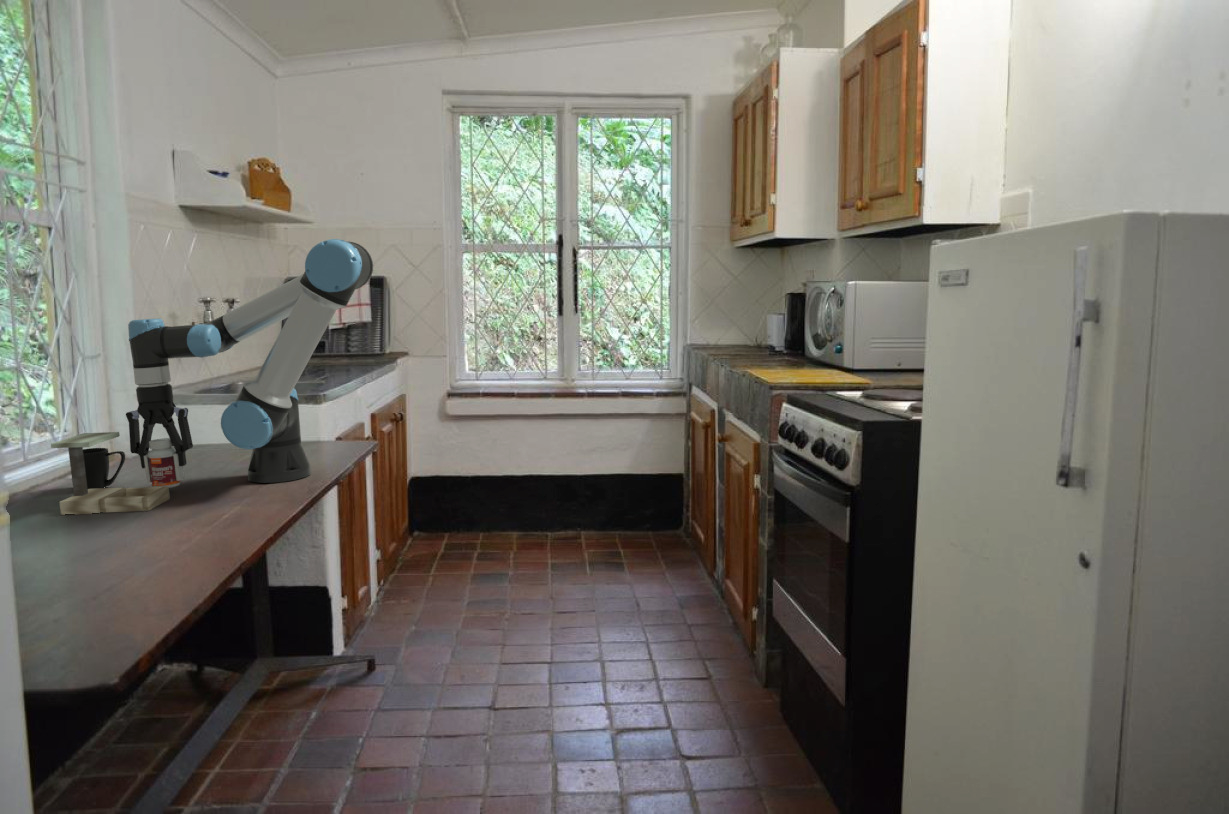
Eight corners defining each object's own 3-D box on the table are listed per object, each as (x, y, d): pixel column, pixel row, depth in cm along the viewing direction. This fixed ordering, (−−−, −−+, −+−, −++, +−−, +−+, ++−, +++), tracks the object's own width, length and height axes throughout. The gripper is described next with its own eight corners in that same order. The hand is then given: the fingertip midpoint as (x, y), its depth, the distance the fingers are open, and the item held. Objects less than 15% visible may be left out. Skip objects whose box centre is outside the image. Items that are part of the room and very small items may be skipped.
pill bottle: (151, 490, 208) (144, 443, 206) (153, 485, 213) (147, 439, 212) (180, 487, 210) (174, 440, 208) (181, 482, 216) (175, 436, 214)
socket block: (172, 497, 207) (165, 430, 204) (145, 512, 194) (137, 440, 191) (91, 500, 206) (83, 433, 203) (59, 515, 193) (50, 443, 191)
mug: (121, 490, 216) (116, 452, 215) (68, 493, 214) (63, 455, 213) (133, 482, 224) (129, 445, 223) (82, 485, 222) (77, 448, 221)
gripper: (201, 380, 212) (213, 474, 215) (120, 385, 211) (133, 479, 215) (187, 384, 205) (200, 481, 208) (103, 389, 204) (117, 486, 207)
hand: (166, 480), depth 211 cm, fingers closed on pill bottle, 6 cm apart
